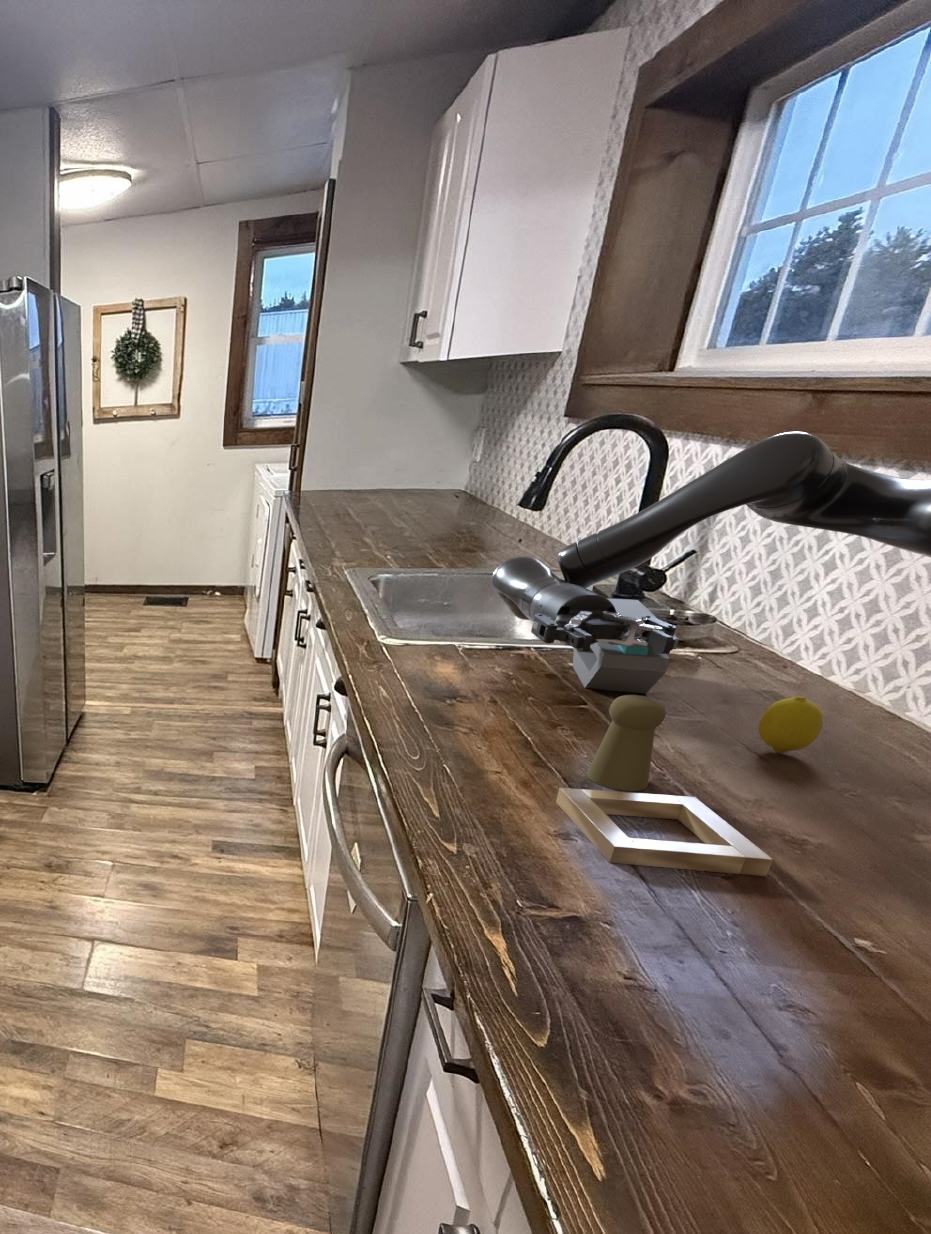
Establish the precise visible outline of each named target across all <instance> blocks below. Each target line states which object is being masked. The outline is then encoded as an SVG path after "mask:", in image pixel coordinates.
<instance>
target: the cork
mask: <svg viewBox="0 0 931 1234" xmlns="http://www.w3.org/2000/svg"><path fill="white" fill-rule="evenodd" d="M608 713H609V717H610V719H611V722H610V725H609V726H608V728H607V730H606V732H605V734H604V737H603V739H602V741H601V743H600V745H599V747H598V749H597V751H596V753H595V755H594V757H593V760H592V761H591V763H590V765H589V768H588V770H587V771H586V774H587V775H586V777H587V779H589V780H590V781H591V780H592V781H591V782H593V783H595V784H597V785H599V786H602V787H605V788H609V789H613V790H618V791H623V792H640V791H644V790H647V788H648V785H649V780H650V779H649V778H650V771H651V762H652V755H653V748H654V740H655V733H656V729H657V727H659V726H661V724H662V723H663V722H664V721H665V719H666V715H667V708H666V707H665V705H664V703H663V702H661V701H660V700H658V699H656V698H654V697H649V696H646V695H640V694H639V695H638V694H624V695H621V696H618V697H616V698H615V699H614V700H613V701H612V702H611V704H610V706H609V709H608Z"/></svg>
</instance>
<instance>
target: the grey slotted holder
mask: <svg viewBox="0 0 931 1234" xmlns="http://www.w3.org/2000/svg"><path fill="white" fill-rule="evenodd" d="M606 598H607V597H606ZM607 599H608V600H609V601H610V602H611V603H612V604H613V605H614V607H615V609H616V612H617V613H619V614H620V615H621V616H626V617H631V618H636V619H642V616H651V617H654V618H656V619H658V618H657V616H655V614H653V612H651V611H650V610H649V609H648V608H647V607H646V606H645V605H644V604H643V603H642V602H641V601H640V600H639V599H627V598H626V599H625V598H609V597H608V598H607ZM628 634H629V631H628V632H627V633H626V634H625V635H623V636H622V637H621V638H624V639H627V638H628ZM640 638H641V639H645V640H646V638H644V637H640ZM673 638H675V639H676V640H675V643H674V647H673V650H677V647H678V645H679V641H680V638H679V637H678V636H676V635H675V634H674V636H673ZM670 661H671V658H670V657H669V655H668V654H660V653H658V652H656V651H654V650H653V649H651V648H649V647H647V646H644V645H640V644H635V645H631V646H626V645H622V644H617V643H612V642H607V643H604V642H599V641H598V642H596V643H594V644H592V645H590V649H589V651H588V652H580V651H579V650H577V649H576V648H574V647H573V657H572V668H573V670H574V671H575V673H576V675H577V677H578V678H579V680H580V682H581V684H582V686H583V687H584V688H585V689H593V690H604V691H614V692H626V693H633V694H634V693H635V694H645V695H646V694H647V693H648V692H649V691H650V690H652V688H653V687H654V686H655V685H656V684H657V683H658V682H659V681H660V680H661V679H662V678H663V676H664V675H665V674H667V670H668V666H669V664H670Z"/></svg>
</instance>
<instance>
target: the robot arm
mask: <svg viewBox="0 0 931 1234" xmlns="http://www.w3.org/2000/svg"><path fill="white" fill-rule="evenodd" d="M742 506H746V507H748V509H750V510H751V511H752V512H754V514H757V516H759V517H761V518H763V519H765V520H769V521H772V522H775V523H780V524H785V525H792V526H798V527H802V528H803V527H805V528H811V529H818V530H824V531H830V532H837V533H843V534H847V535H853V536H858V537H862V538H866V539H869V540H872V541H876V542H878V543H881V544H884V545H886V546H887V545H888V546H889V547H890V546H891V547H893V548H896V549H899V550H903V551H906V552H911V553H914V554H917V555H920V556H925V557H929V558H931V479H927V480H926V479H910V478H904V477H897V476H893V475H888V474H885V473H881V472H876V471H873V470H869V469H866V468H863V467H859V466H857V465H856V466H855V465H853V464H851V463H849V462H846V461H844V460H843V459H842V458H840V457H839V456H838V455H837V454H836V453H835V452H834V451H833V450H832V449H831V448H830V447H829V446H828V445H827V444H826V443H825V442H824V441H823V440H822V439H820V438H819V437H818V436H816V435H814V434H811V433H808V432H804V431H787V432H783V433H782V432H781V433H779V434H775V435H772V436H769V437H767V438H764V439H762V440H760V441H757V442H756V443H754V444H752V445H750V446H747V448H745V449H743V450H740V451H739V452H738V453H736V454H734V455H732V456H731V457H729V458H727V459H726V460H724V461H723V462H721V463H719V464H717V465H716V466H714V467H713V468H710V469H709V470H708V471H706V472H705V473H703V474H701V475H700V476H698V477H696V478H694V479H693V480H691V481H689V482H687V483H686V484H684V485H683V486H681V487H680V488H678V489H676V490H675V491H673V492H671V493H670V494H668V495H666V496H665V497H663V498H661V499H660V500H658V501H656V502H654V503H652V504H651V505H649V506H647V507H646V508H644V509H642V510H640V511H638V512H637V513H635V514H633V515H631V516H629V517H627V518H624V519H623V520H621V521H618V522H616V523H615V524H613V525H610V526H608V527H605V528H604V529H601V530H598V531H597V532H595V533H593V534H590V535H588V536H585V537H584V538H581V539H579V540H577V541H574V542H572V543H570V544H568V545H566V546H565V547H562V548H561V550H560V551H559V552H558V554H557V562H558V567H559V569H560V572H561V574H562V578H561V577H559V576H558V575H556V574H555V573H554V572H553V571H552V570H551V569H550V568H549V567H548V566H546V565H545V564H544V563H543V562H542V561H540V560H539V559H537V558H535V557H532V556H527V555H525V556H524V555H523V556H516V557H512V558H509V559H507V560H505V561H503V562H502V563H500V564H499V565H498V566H497V567H496V568H495V569H494V571H493V573H492V574H491V578H490V579H491V580H490V584H491V587H492V589H493V591H494V592H495V593H496V594H497V596H498V598H500V599H501V601H502V602H503V603H504V605H506V607H507V608H508V609H509V610H510V612H511V613H512V614H513V615H514V616H515V617H516V618H518V619H519V620H524V621H532V626H531V629H530V630H531V631H530V633H531V634H533V635H534V636H535V637H536V638H537V639H539V640H540V641H542V642H543V643H545V644H554V643H555V641H558V642H559V643H560V644H561V645H563V646H569V647H572V648H573V649H574V648H576V649H577V650H579V651H580V652H588V651H589V649H590V645H592V644H594V643H596V642H598V641H599V642H604V643H607V642H612V643H617V644H622V645H626V646H631V645H635V644H640V645H644V646H647V647H649V648H651V649H653V650H654V651H656V652H658V653H660V654H666V655H669V654H670V653H671V652H672V651H673V650H674V649H673V647H674V643H675V640H676V639H675V638H673V636H674V635H675V634H676V631H677V627H678V626H675V625H673V624H670V623H668V622H667V621H663V620H662V619H659V618H657V617H656V618H657V619H656V618H654V617H651V616H642V619H636V618H631V617H626V616H621V615H620V614H619V613H617V612H616V609H615V607H614V605H613V604H612V603H611V602H610V601H609V600H608V599H607V597H606V596H604V595H601V594H599V593H597V592H595V591H592V590H590V589H588V588H590V587H591V586H593V585H595V584H598V583H600V582H603V581H604V580H605V581H606V580H608V579H610V578H613V577H615V576H617V575H620V574H622V573H625V572H627V571H630V570H632V569H634V568H637V567H638V566H640V565H642V564H644V563H645V562H647V561H649V560H650V559H653V558H654V557H655V556H656V555H658V554H659V553H660V552H661V551H662V550H664V549H666V547H668V545H670V544H671V543H673V541H675V540H676V539H677V538H679V537H680V536H681V535H683V533H685V532H686V531H688V530H690V529H691V528H693V527H694V526H696V525H698V524H700V523H701V522H703V521H705V520H707V519H709V518H712V517H713V516H716V515H719V514H721V513H723V512H726V511H727V512H728V511H730V510H733V509H735V508H739V507H742ZM628 631H629V634H628V638H627V639H624V638H621V637H622V636H623V635H625V634H626V633H627V632H628ZM640 637H644V638H646V640H645V639H641V638H640Z"/></svg>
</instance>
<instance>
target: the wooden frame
mask: <svg viewBox="0 0 931 1234" xmlns="http://www.w3.org/2000/svg"><path fill="white" fill-rule="evenodd" d="M555 804H556V805H557V806H559V807H560V809H561V810H562V811H563V812H564V813H565V815H567V817H568V818H569V819H570V820H571V821H572V822H573V824H574V825H575V826H576V827H577V828H578V829H579V830H580V831H581V832H582V834H583V835H584V836H585V837H586V838H587V839H588V840H589V842H590V843H591V844H592V845H593V846H594V847H595V848H596V849H597V850H598V851H599V853H600V854H601V855H602V856H603V858H605V859H606V860H607V862H608V863H610V864H621V865H629V866H630V865H634V866H641V867H642V866H644V867H654V868H665V869H666V868H667V869H678V870H692V871H700V872H701V871H702V872H712V873H723V874H735V875H745V876H758V877H767V876H768V874H769V871H770V869H771V866H772V864H773V861H774V859H773V858H772V857H770V855H768V854H767V853H766V852H764V851H763V850H762V849H760V847H758V846H757V845H756V844H754V843H753V842H752V841H750V840H749V839H748V838H747V837H746V836H744V835H743V834H742V833H741V832H740V831H738V830H737V829H736V828H735V827H733V826H732V825H731V824H729V823H728V822H727V821H726V820H724V819H723V818H722V817H721V816H719V815H718V814H717V813H715V812H714V811H713V810H712V809H711V808H709V807H708V806H707V805H706V804H705V803H703V802H702V801H701V800H699V799H698V798H697V797H696V796H687V795H686V796H685V795H672V794H661V793H660V794H658V793H646V792H645V793H644V792H631V791H616V790H615V791H613V790H601V789H600V790H599V789H585V788H569V787H559V790H558V792H557V797H556V801H555ZM608 815H613V816H623V817H624V816H625V817H639V818H653V819H665V820H678V821H679V822H680V823H681V824H682V825H683V826H685V828H687V829H688V831H690V832H691V833H692V834H694V835H695V836H696V837H697V838H698V839H699V840H701V841H702V842H703V843H699V842H686V841H685V842H684V841H675V840H674V841H673V840H660V839H650V838H649V839H648V838H637V837H636V838H635V837H629V836H628V835H627V834H626V833H625V832H624V831H623V829H621V828H620V827H619V826H618V825H617V824H616V823H615V822H614V821H613V820H612V819H611V818H610V817H609V816H608Z"/></svg>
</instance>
